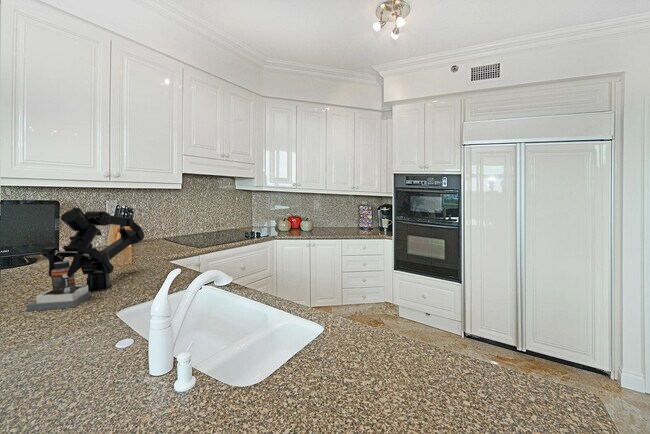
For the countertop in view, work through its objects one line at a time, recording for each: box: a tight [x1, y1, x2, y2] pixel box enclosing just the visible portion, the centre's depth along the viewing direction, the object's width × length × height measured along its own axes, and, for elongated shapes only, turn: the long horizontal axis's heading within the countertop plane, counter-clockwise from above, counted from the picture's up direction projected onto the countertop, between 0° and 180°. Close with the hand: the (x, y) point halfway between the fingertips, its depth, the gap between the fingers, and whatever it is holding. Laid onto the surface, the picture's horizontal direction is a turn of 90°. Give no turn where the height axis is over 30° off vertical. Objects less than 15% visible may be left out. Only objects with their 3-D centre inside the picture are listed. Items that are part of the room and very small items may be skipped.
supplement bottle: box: [51, 260, 77, 294], centre depth 104 cm, size 6×6×11 cm
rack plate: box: [26, 284, 92, 312], centre depth 104 cm, size 13×11×4 cm
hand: (59, 276), depth 102 cm, fingers closed on supplement bottle, 6 cm apart
